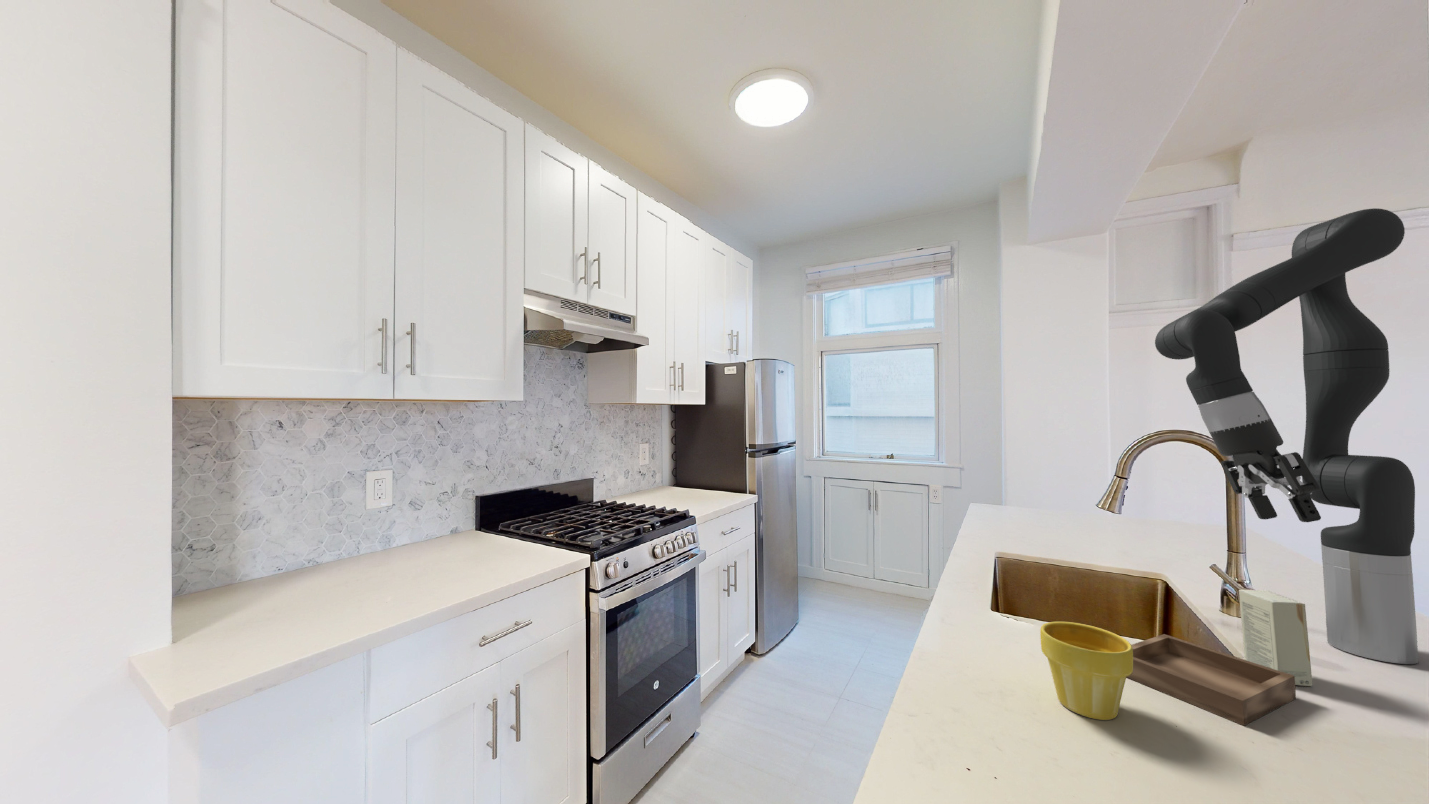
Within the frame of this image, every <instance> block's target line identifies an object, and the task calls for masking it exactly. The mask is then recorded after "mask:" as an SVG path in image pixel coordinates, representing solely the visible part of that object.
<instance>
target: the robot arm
mask: <svg viewBox="0 0 1429 804" xmlns="http://www.w3.org/2000/svg"><path fill="white" fill-rule="evenodd" d="M1405 234H1406V232H1405V225H1404V222H1403V221H1402V219H1401V218H1400V217H1399V216H1398V214H1396V213H1394V212H1393V211H1391V210H1388V209H1383V208H1366V209H1359V210H1357V211H1353V212H1350V213H1346V214H1343V215H1340V216H1337V217H1335V218H1332V219H1329V220H1326V221H1324V222H1321V223H1317V224H1315V225H1311V226H1310V227H1307V228H1305V229H1303V230H1301V231H1300V232H1299V233H1298V234H1297V235H1296V236H1295V238H1294V241H1293V243H1292V245H1291V246H1292V247H1291V258H1289V259H1286V260H1284V261H1282V262H1280V263H1278V264H1276V265H1273V266H1270V267H1268V268H1267V269H1264V270H1261V271H1260V272H1258V273H1257V272H1256V273H1254V274H1253V275H1251V276H1248V277H1247V278H1245V279H1242V280H1241V281H1239V282H1238V283H1236V284H1234V285H1232V286H1231V287H1230V288H1227V289H1226V290H1225V291H1223V292H1221V293H1219V294H1217V295H1216V296H1215V297H1214V298H1212V299H1211V300H1210V301H1208V302H1206V303H1205V304H1203V305H1201V306H1199V307H1198V308H1196V309H1194V310H1192V311H1190V312H1188V313H1186V314H1184V315H1183V316H1181V317H1179V318H1177V319H1176V320H1173V321H1171V322H1170V323H1168V324H1166V325H1165V326H1163V327H1162V328H1161V329H1160V330H1159V331H1158V332H1157V334H1156V336H1155V340H1154V345H1155V348H1156V351H1157V352H1158V353H1159V354H1160V355H1161V356H1163V357H1165V358H1167V359H1171V360H1187V359H1191V358H1194V365H1195V367H1194V369H1193V370H1192V371H1190V372H1189V373H1188V374H1187V375H1186V377H1185V382H1186V385H1187V388H1188V389H1189V391H1190V393H1191V395H1192V397H1193V399H1194V401H1195V403H1196V405H1197V406H1198V410H1199V413H1200V416H1201V418H1202V420H1203V422H1204V425H1205V426H1206V428H1207V431H1208V433H1209V434H1210V437H1211V439H1212V440H1213V442H1214V444H1215V446H1216V448H1217V450H1218V452H1219V454H1220V455H1221V456H1224V457H1232V458H1230V459H1226V460H1222V461H1221V462H1220V465H1221V467H1222V469H1223V471H1224V473H1225V476H1226V477H1227V480H1228V482H1229V484H1230V486H1231V488H1232V491H1233V492H1234V493H1235V494H1236V495H1242V496H1243V497H1244V498H1248V500H1249V501H1250V504H1251V506H1252V508H1253V510H1254V512H1255V514H1256V515H1257V517H1258V519H1259V520H1270V519H1275V518H1278V513H1277V512H1276V510H1275V508H1274V505H1273V504H1272V502H1271V500H1270V498H1269V496H1268V495H1267V494H1266V485H1268V486H1270V487H1271V488H1273V489H1277V490H1279V491H1280V492H1282V493H1283V495H1284V496H1286V497H1288V502H1289V503H1290V505H1291V507H1292V509H1293V510H1294V513H1295V515H1296V516H1297V518H1298V520H1299V521H1300V522H1302V523H1312V522H1318V521H1321V518H1322V516H1321V515H1320V512H1319V511H1318V509H1317V507H1316V505H1315V503H1318V504H1322V505H1326V506H1334V507H1341V508H1348V509H1349V508H1350V509H1356V510H1357V509H1358V510H1359V514H1358V519H1357V521H1355V522H1352V523H1350V524H1345V525H1337V526H1326V527H1325V528H1323V529H1321V531H1320V544H1321V545H1320V547H1321V548H1320V549H1321V561H1322V562H1321V563H1322V575H1323V577H1322V578H1323V589H1324V605H1325V624H1326V625H1325V627H1326V640H1327V641H1328V642H1327V641H1326V642H1327V643H1328V644H1329V645H1331V646H1332V647H1335V648H1336V649H1338V650H1340V651H1343V652H1345V653H1349V654H1351V655H1355V656H1360V657H1363V658H1366V659H1370V660H1375V661H1381V662H1386V663H1393V664H1401V665H1413V664H1414V665H1415V664H1418V663H1419V651H1418V650H1419V648H1418V646H1419V645H1418V629H1417V619H1416V618H1417V616H1416V605H1415V604H1416V603H1415V591H1414V576H1413V574H1414V573H1413V564H1412V555H1411V554H1412V549H1411V547H1412V543H1413V539H1414V536H1415V528H1416V527H1415V524H1416V523H1415V507H1416V505H1415V504H1416V489H1415V488H1416V487H1415V486H1416V485H1415V480H1414V477H1413V473H1412V472H1411V471H1412V470H1411V469H1410V468H1409V466H1408V465H1407V464H1405V463H1404V462H1403V461H1401V460H1399V459H1398V458H1395V457H1389V456H1381V455H1380V456H1378V455H1376V456H1375V455H1360V454H1359V455H1358V454H1349V441H1350V435H1351V431H1352V428H1353V426H1354V425H1355V422H1356V421H1357V419H1358V418H1359V417H1360V416H1361V414H1362V413H1363V412H1364V411H1365V410H1366V409H1367V408H1368V407H1370V404H1372V403H1373V401H1374V400H1375V399H1376V398H1377V397H1378V395H1379V394H1380V393H1381V392H1382V391H1383V389H1384V388H1385V386H1386V385H1387V383H1388V382H1389V381H1388V380H1389V379H1390V353H1389V343H1388V339H1387V338H1386V335H1385V334H1384V333H1383V331H1382V330H1381V329H1380V328H1379V327H1378V325H1376V324H1375V323H1374V322H1373V321H1372V320H1371V319H1370V318H1369V317H1367V315H1366V314H1364V313H1363V312H1362V311H1361V310H1360V309H1359V308H1358V307H1357V306H1356V305H1355V304H1354V302H1353V301H1352V299H1351V298H1350V295H1349V292H1348V288H1347V281H1346V273H1348V272H1351V271H1352V270H1355V269H1358V268H1360V267H1362V266H1365V265H1368V264H1370V263H1373V262H1376V261H1378V260H1380V259H1384V258H1385V257H1387V256H1389V255H1391V254H1392V253H1393V252H1394V251H1396V250H1397V249H1398V248H1399V247H1400V245H1401V244H1402V242H1403V241H1404V238H1405ZM1297 298H1299V304H1300V305H1299V306H1300V313H1301V314H1300V317H1301V325H1302V326H1301V327H1302V339H1303V341H1302V347H1303V348H1302V361H1303V362H1302V363H1303V379H1304V389H1305V431H1304V432H1305V433H1304V440H1303V449H1302V450H1303V451H1302V455H1301V454H1300V453H1299V452H1296V451H1295V452H1290V453H1285V454H1281V453H1280V451H1278V449H1277V448H1278V447H1280V446H1282V445H1283V444H1284V440H1283V437H1282V436H1281V434H1280V432H1279V431H1278V429H1277V427H1276V425H1275V423H1274V421H1273V420H1272V418H1271V416H1270V414H1269V413H1268V410H1267V409H1266V407H1265V405H1264V404H1263V402H1262V401H1261V399H1260V398H1259V397H1258V396H1257V395H1256V392H1255V391H1254V390H1253V388H1252V385H1251V384H1250V383H1249V380H1248V378H1247V377H1246V375H1245V374H1244V371H1243V370H1242V367H1241V359H1240V351H1239V346H1238V340H1237V335H1236V332H1239V331H1240V330H1242V329H1246V328H1247V327H1249V326H1251V325H1253V324H1255V323H1257V322H1258V321H1260V320H1262V319H1263V318H1265V317H1267V316H1268V315H1271V314H1272V313H1273V312H1275V311H1276V310H1278V309H1280V308H1281V307H1283V306H1285V305H1286V304H1289V302H1291V301H1293V300H1296V299H1297ZM1314 502H1315V503H1314Z"/></svg>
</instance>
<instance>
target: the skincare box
mask: <svg viewBox="0 0 1429 804" xmlns="http://www.w3.org/2000/svg"><path fill="white" fill-rule="evenodd" d="M1238 593H1239V594H1238V595H1239V604H1240V605H1239V606H1240V618H1241V631H1242V632H1241V633H1242V644H1243V654H1244V660H1247V661H1250V662H1253V663H1256V664H1259V665H1262V666H1266V667H1269V668H1272V669H1275V670H1278V671H1281V672H1284V673H1287V674H1290V675H1294V676H1295V686H1302V687H1303V686H1305V687H1313V676H1312V675H1313V674H1312V668H1311V667H1312V664H1311V654H1310V653H1311V652H1310V644H1309V634H1308V633H1309V632H1308V623H1307V622H1308V621H1307V612H1306V604H1305V602H1301V601H1298V600H1296V599H1294V598H1293V599H1292V598H1290V597H1287V596H1284V595H1281V594H1278V593H1276V592H1272V591H1271V590H1260V589H1259V590H1255V589H1239V590H1238Z"/></svg>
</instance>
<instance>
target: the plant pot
mask: <svg viewBox="0 0 1429 804" xmlns="http://www.w3.org/2000/svg"><path fill="white" fill-rule="evenodd" d="M1039 631H1040V633H1039V634H1040V645H1041V646H1040V649H1041V652H1042V654H1043V655H1044V656H1045V658H1047V660H1048V665H1049V669H1050V673H1051V677H1052V680H1053V684H1054V689H1055V691H1056V696H1057V699H1058V701H1059V703H1060V704H1062V705H1061V706H1063V707H1065V708H1066V709H1068V710H1069V711H1071V712H1073V713H1076V714H1078V715H1079V716H1083V717H1086V718H1088V719H1094V720H1098V721H1099V720H1100V721H1109V720H1110V721H1111V720H1113V719H1116V717H1117V716H1118V713H1119V711H1120V705H1121V700H1122V696H1123V691H1124V687H1125V684H1126V680H1127V678H1126V677H1127V676H1129V675H1130V674H1131V673H1132V671H1133V648H1132V644H1131V643H1130V642H1129V641H1128V640H1127V639H1126V638H1124V637H1122V636H1120V635H1118V634H1116V633H1114V632H1112V631H1109V630H1106V629H1103V628H1101V627H1096V626H1093V625H1088V624H1084V623H1079V622H1072V621H1071V622H1070V621H1050V622H1045V623H1043V624H1042V625H1041V626H1040V629H1039Z"/></svg>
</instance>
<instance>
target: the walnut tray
mask: <svg viewBox="0 0 1429 804" xmlns="http://www.w3.org/2000/svg"><path fill="white" fill-rule="evenodd" d="M1131 645H1132V648H1133V671H1132V673H1131V674H1130V675H1129V676H1127V677H1126V679H1129V680H1131V681H1134V682H1137V683H1138V684H1141V685H1144V686H1146V687H1148V688H1151V689H1153V690H1156V691H1158V692H1161V693H1162V694H1165V695H1167V696H1170V697H1173V698H1175V699H1178V700H1180V701H1183V702H1185V703H1186V704H1189V705H1192V706H1195V707H1197V708H1200V709H1202V710H1204V711H1207V712H1210V713H1211V714H1214V715H1216V716H1219V717H1221V718H1223V719H1226V720H1228V721H1231V722H1233V723H1236V724H1239V725H1241V726H1244V727H1245V726H1246V725H1249V724H1250V723H1253V722H1254V721H1257V720H1258V719H1260V718H1262V717H1264V716H1266V715H1267V714H1270V713H1271V712H1273V711H1275V710H1277V709H1279V708H1280V707H1283V706H1285V705H1286V704H1289V703H1291V702H1293V701H1294V700H1296V698H1297V694H1296V693H1297V692H1296V685H1295V676H1294V675H1290V674H1287V673H1284V672H1281V671H1278V670H1275V669H1272V668H1269V667H1266V666H1262V665H1259V664H1256V663H1253V662H1250V661H1247V660H1245V658H1244V659H1243V658H1240V657H1237V656H1234V655H1230V654H1227V653H1226V652H1225V653H1224V652H1222V651H1218V650H1216V649H1212V648H1208V647H1207V646H1206V647H1205V646H1202V645H1199V644H1197V643H1195V642H1194V643H1193V642H1190V641H1186V640H1184V639H1181V638H1178V637H1174V636H1172V635H1169V634H1165V633H1163V634H1160V635H1156V636H1154V637H1151V638H1148V639H1144V640H1142V641H1139V642H1136V643H1133V644H1131Z"/></svg>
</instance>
